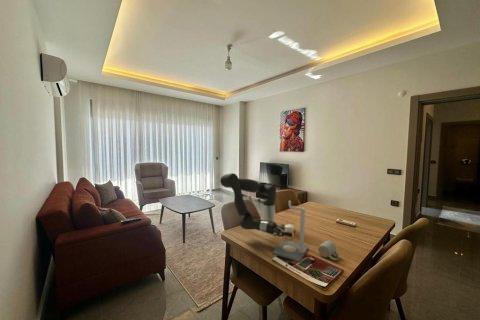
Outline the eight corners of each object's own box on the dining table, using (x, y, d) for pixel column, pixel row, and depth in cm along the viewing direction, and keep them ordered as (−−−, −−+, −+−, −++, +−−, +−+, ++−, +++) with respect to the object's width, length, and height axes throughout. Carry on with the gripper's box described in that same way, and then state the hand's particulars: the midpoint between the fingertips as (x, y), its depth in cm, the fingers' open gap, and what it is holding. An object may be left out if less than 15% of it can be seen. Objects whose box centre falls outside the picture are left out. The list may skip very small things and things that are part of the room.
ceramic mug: (316, 254, 119) (317, 242, 118) (323, 250, 124) (324, 238, 123) (334, 263, 110) (335, 249, 110) (341, 258, 116) (342, 245, 115)
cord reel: (286, 238, 127) (286, 223, 126) (295, 241, 123) (296, 225, 123) (282, 242, 122) (283, 226, 121) (292, 245, 118) (292, 228, 118)
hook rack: (283, 241, 135) (284, 196, 133) (307, 248, 126) (309, 200, 124) (272, 253, 119) (273, 202, 118) (299, 262, 111) (301, 207, 109)
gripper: (263, 224, 124) (289, 231, 115) (272, 218, 136) (297, 223, 127) (263, 236, 124) (289, 244, 115) (272, 229, 136) (297, 235, 127)
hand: (293, 233), depth 121 cm, fingers closed on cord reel, 5 cm apart
